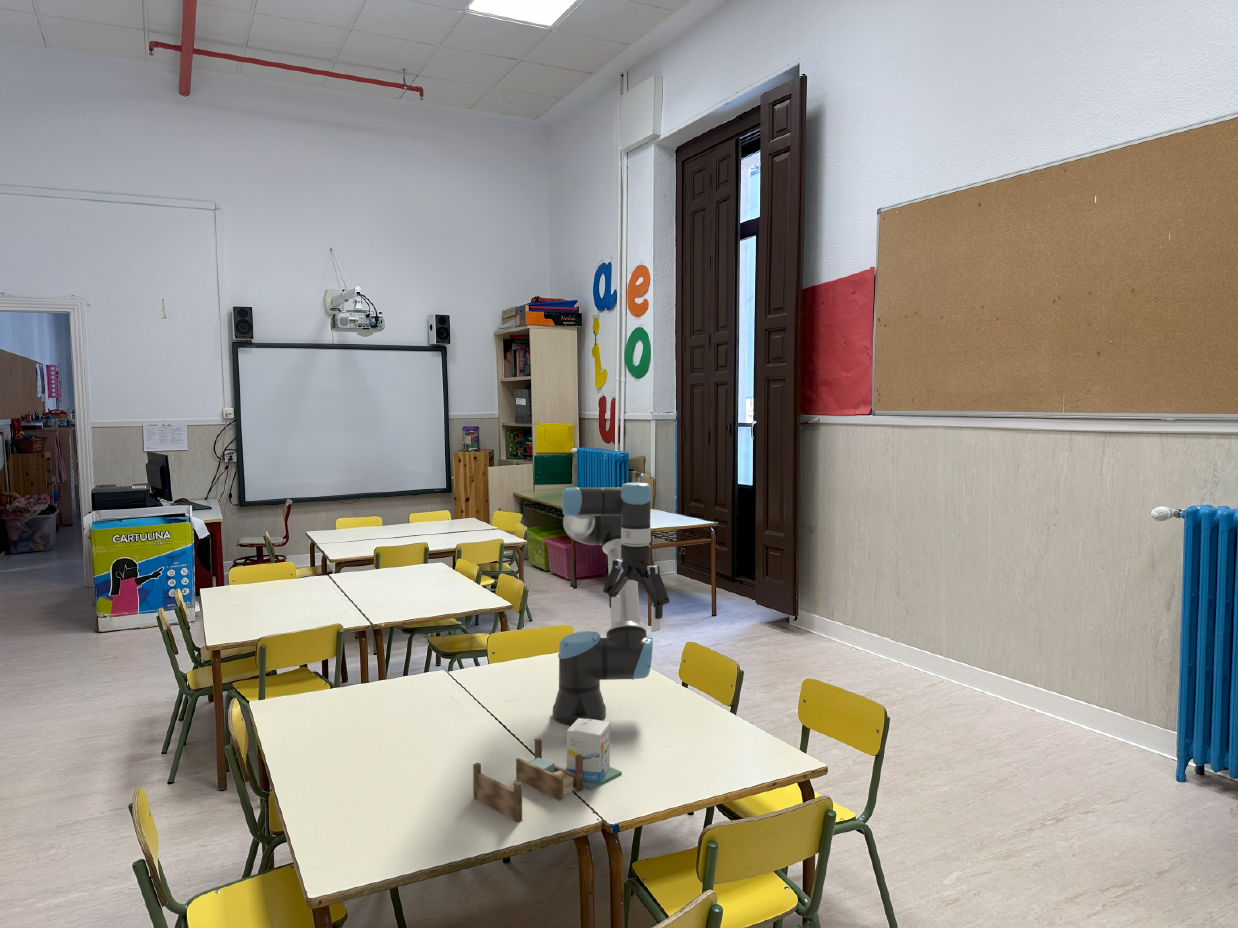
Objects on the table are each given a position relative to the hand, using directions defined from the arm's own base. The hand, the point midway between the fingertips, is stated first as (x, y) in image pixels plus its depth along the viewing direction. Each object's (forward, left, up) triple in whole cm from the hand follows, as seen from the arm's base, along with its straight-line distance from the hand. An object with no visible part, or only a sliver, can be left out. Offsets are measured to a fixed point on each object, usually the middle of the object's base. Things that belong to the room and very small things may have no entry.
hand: (635, 625), depth 206 cm
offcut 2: (+2, -29, -32) cm, 43 cm away
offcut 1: (-4, -30, -30) cm, 42 cm away
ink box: (+3, -20, -31) cm, 37 cm away
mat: (+2, -20, -32) cm, 37 cm away
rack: (-1, -36, -32) cm, 48 cm away
